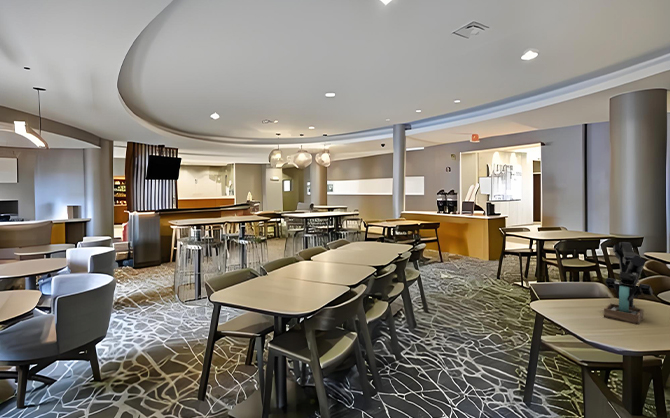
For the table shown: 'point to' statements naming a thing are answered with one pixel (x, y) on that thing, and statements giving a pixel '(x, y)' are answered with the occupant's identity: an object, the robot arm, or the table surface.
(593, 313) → the table surface
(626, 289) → the peg
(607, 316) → the tray
